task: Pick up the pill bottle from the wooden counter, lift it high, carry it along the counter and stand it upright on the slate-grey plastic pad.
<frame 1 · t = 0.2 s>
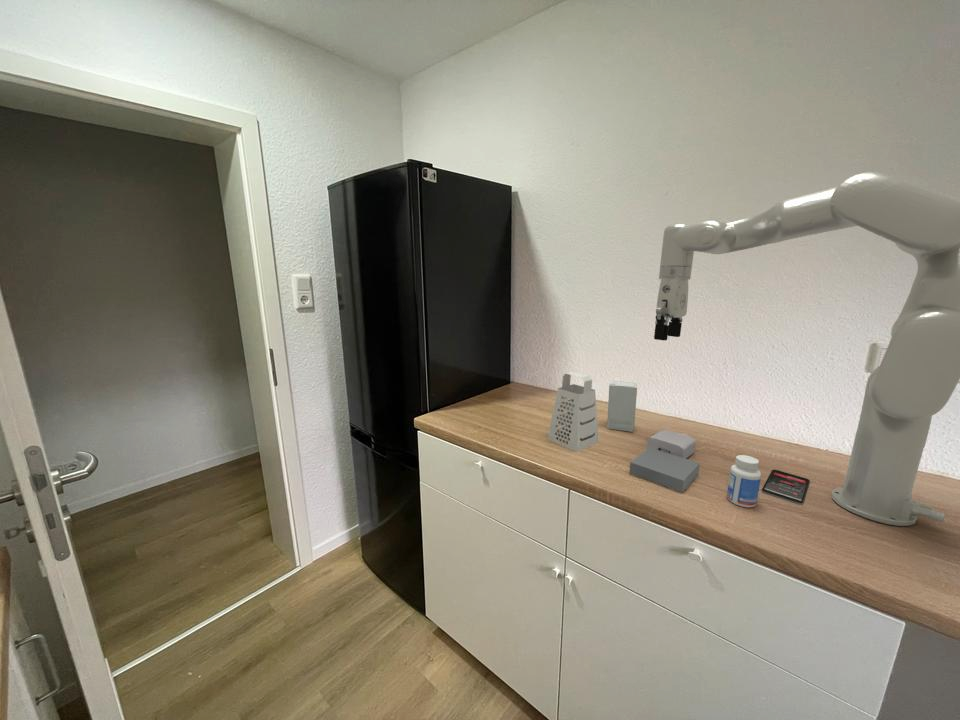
hand: (667, 338, 105), 31 cm above the worktop, tool pointing down, fingers open, 9 cm apart
pill bottle: (740, 501, 83), on the worktop
grater: (572, 441, 112), on the worktop
skincare box: (619, 428, 123), on the worktop
smartphone: (785, 488, 89), on the worktop
grey pad: (663, 473, 94), on the worktop
charger: (674, 451, 107), on the worktop
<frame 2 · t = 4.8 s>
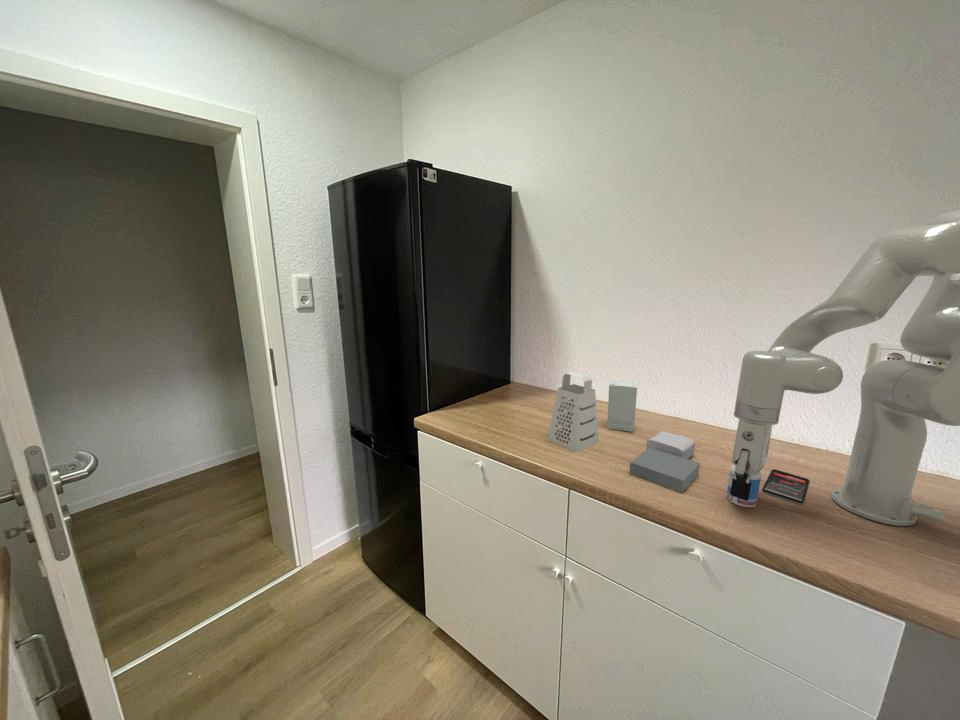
hand: (742, 491, 82), 2 cm above the worktop, tool pointing down, fingers closed on pill bottle, 5 cm apart
pill bottle: (740, 501, 83), on the worktop, touching gripper
charger: (673, 453, 106), on the worktop
everything else where it was.
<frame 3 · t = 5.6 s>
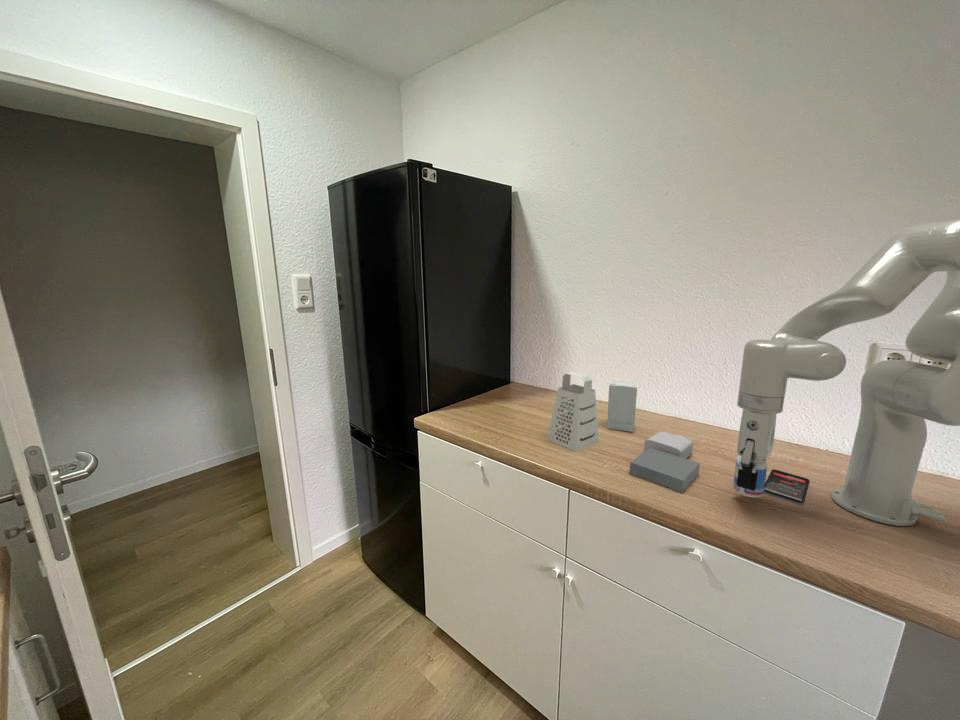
hand: (749, 481, 82), 5 cm above the worktop, tool pointing down, fingers closed on pill bottle, 5 cm apart
pill bottle: (747, 492, 82), point 2 cm above the worktop, touching gripper
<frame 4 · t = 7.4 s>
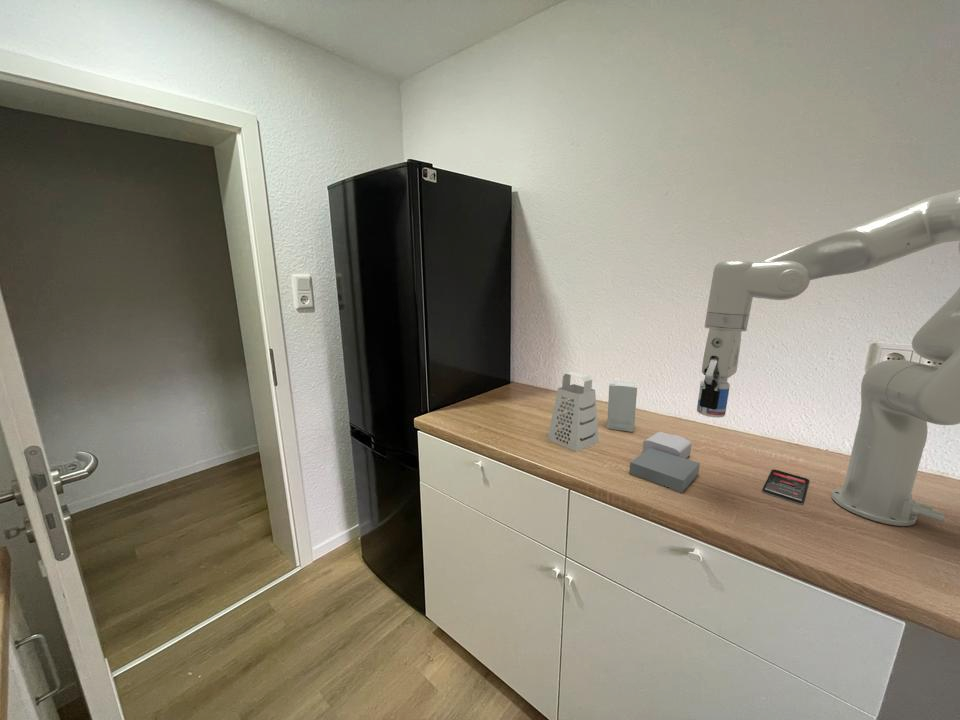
hand: (711, 403, 84), 20 cm above the worktop, tool pointing down, fingers closed on pill bottle, 5 cm apart
pill bottle: (710, 414, 84), point 17 cm above the worktop, touching gripper
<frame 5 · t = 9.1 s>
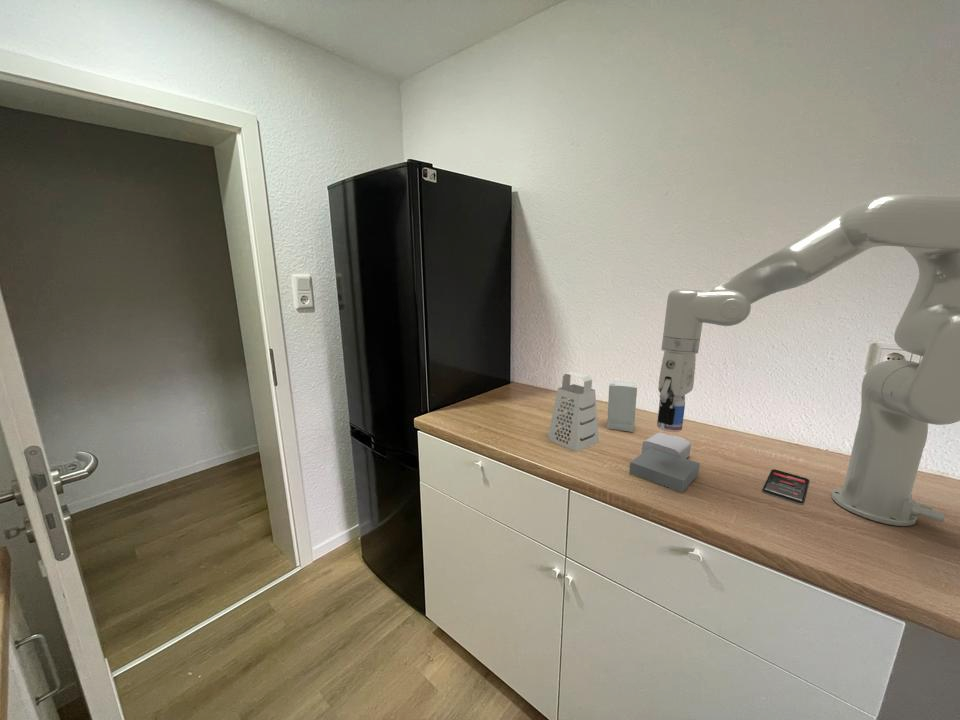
hand: (670, 419, 91), 14 cm above the worktop, tool pointing down, fingers closed on pill bottle, 5 cm apart
pill bottle: (668, 429, 91), point 12 cm above the worktop, touching gripper
when the fingers open (6 cm above the worktop, at t = 11.4 s): pill bottle stays where it is, resting on grey pad.
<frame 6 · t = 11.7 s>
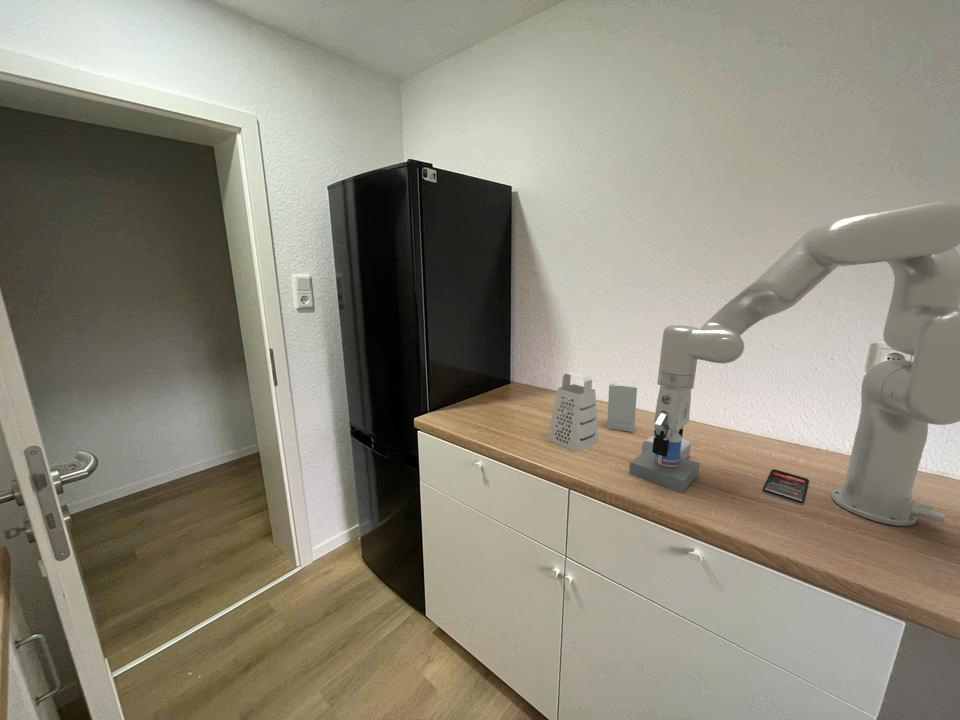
hand: (667, 448, 92), 7 cm above the worktop, tool pointing down, fingers open, 9 cm apart
pill bottle: (666, 463, 93), point 3 cm above the worktop, touching grey pad
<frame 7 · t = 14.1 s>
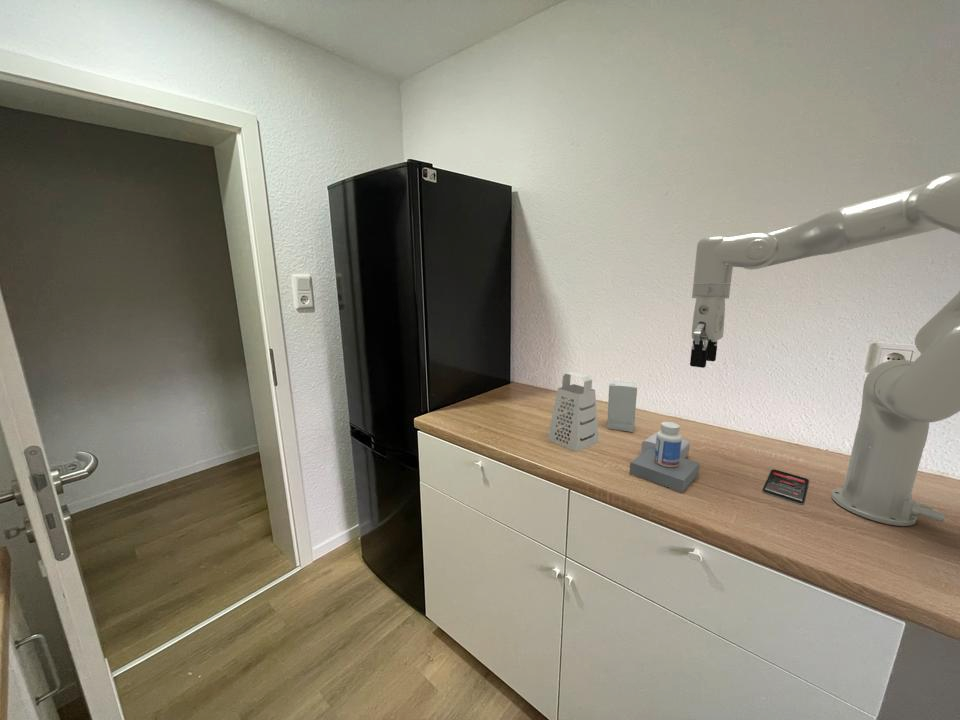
hand: (702, 363, 93), 27 cm above the worktop, tool pointing down, fingers open, 9 cm apart
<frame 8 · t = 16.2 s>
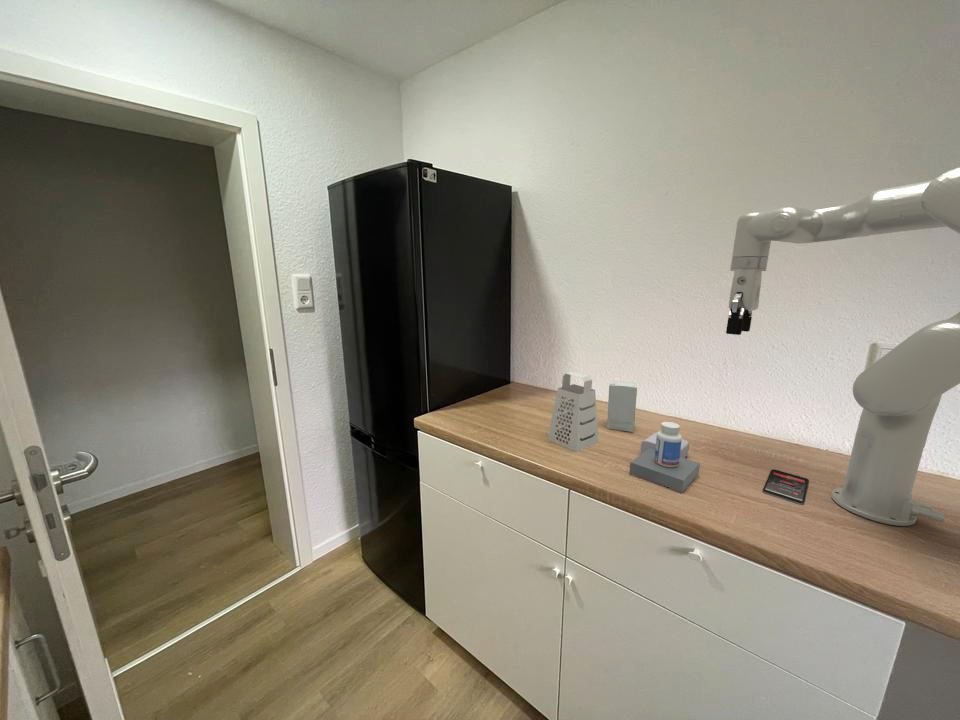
hand: (737, 332, 100), 33 cm above the worktop, tool pointing down, fingers open, 9 cm apart
at the end: pill bottle inside the target area on the grey pad (0.2 cm from its centre), point 2.8 cm above the grey pad's base; pill bottle tilted 0°; the gripper is holding nothing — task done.
